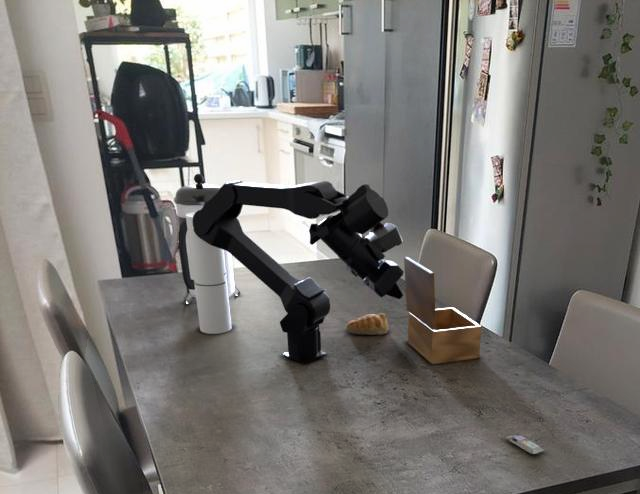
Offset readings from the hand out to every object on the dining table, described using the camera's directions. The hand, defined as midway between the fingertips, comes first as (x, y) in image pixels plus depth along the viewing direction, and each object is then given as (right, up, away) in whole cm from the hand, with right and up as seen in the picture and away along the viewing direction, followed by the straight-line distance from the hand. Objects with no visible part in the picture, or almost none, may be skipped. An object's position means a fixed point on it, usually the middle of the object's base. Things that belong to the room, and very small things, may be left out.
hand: (400, 296), depth 139 cm
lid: (+4, +1, +1) cm, 5 cm away
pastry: (-6, -3, +20) cm, 21 cm away
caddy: (+9, -9, +9) cm, 16 cm away
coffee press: (-47, +9, +40) cm, 62 cm away
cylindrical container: (-42, -2, +21) cm, 47 cm away
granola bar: (+18, -32, -28) cm, 46 cm away
